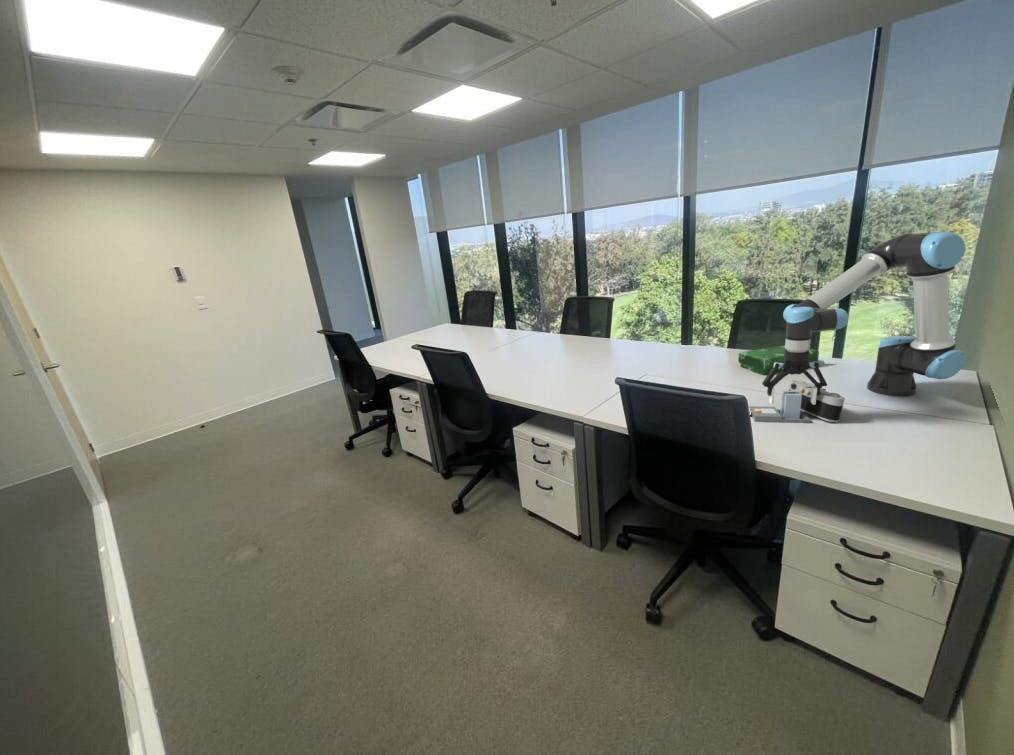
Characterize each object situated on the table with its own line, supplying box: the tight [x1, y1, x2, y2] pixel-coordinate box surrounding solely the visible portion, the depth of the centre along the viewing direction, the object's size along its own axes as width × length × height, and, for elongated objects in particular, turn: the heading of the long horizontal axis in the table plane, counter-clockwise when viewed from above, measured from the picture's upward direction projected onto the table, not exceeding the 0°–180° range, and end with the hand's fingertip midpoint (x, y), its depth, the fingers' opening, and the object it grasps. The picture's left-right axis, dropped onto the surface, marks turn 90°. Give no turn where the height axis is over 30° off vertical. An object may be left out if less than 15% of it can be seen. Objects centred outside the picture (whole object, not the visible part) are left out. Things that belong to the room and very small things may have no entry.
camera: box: [788, 379, 846, 423], centre depth 157 cm, size 22×10×10 cm, turn 9°
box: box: [737, 344, 820, 376], centre depth 208 cm, size 32×18×10 cm, turn 100°
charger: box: [780, 390, 802, 419], centre depth 156 cm, size 5×5×10 cm
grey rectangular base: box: [748, 405, 811, 424], centre depth 158 cm, size 21×10×3 cm, turn 72°
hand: (791, 403), depth 155 cm, fingers open, 13 cm apart
